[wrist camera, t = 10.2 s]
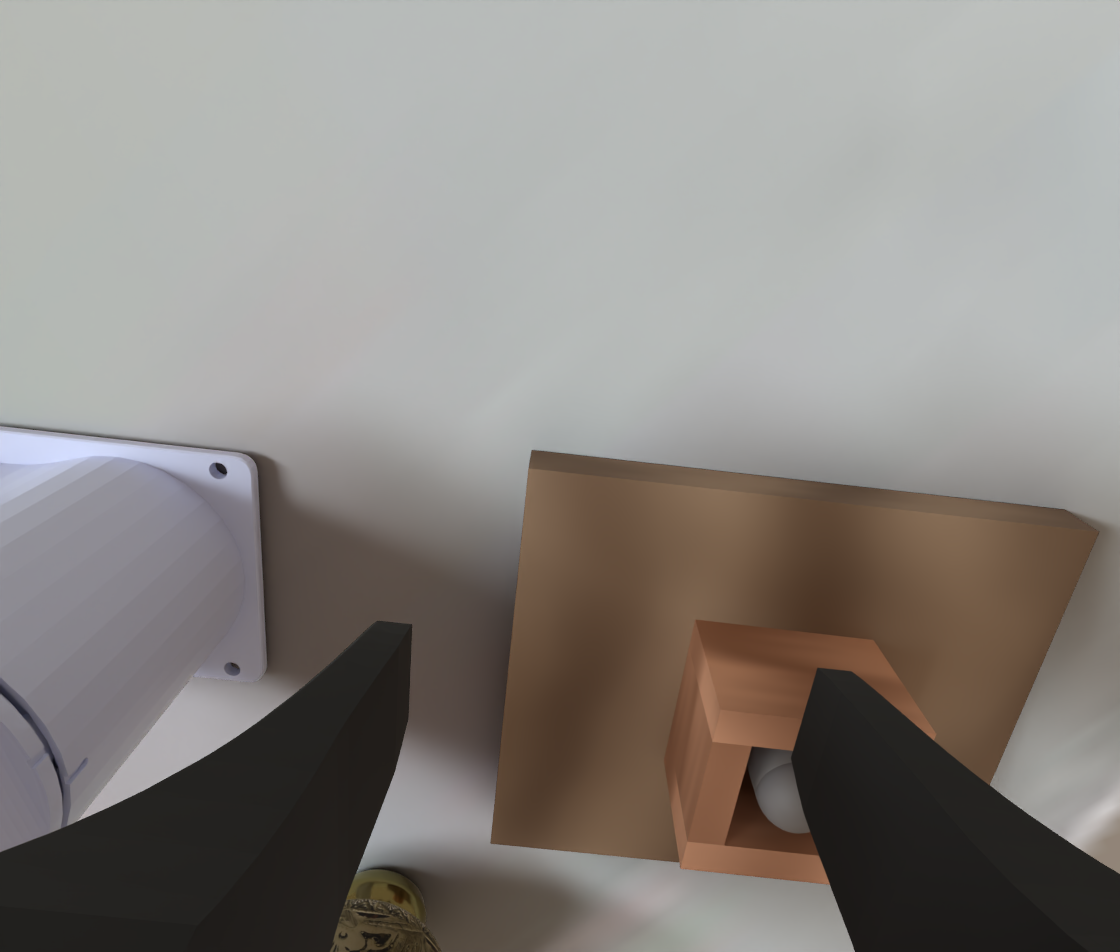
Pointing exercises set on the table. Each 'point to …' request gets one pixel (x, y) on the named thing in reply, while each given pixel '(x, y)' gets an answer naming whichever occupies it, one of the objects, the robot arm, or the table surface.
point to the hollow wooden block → (753, 740)
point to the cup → (383, 916)
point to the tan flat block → (755, 600)
